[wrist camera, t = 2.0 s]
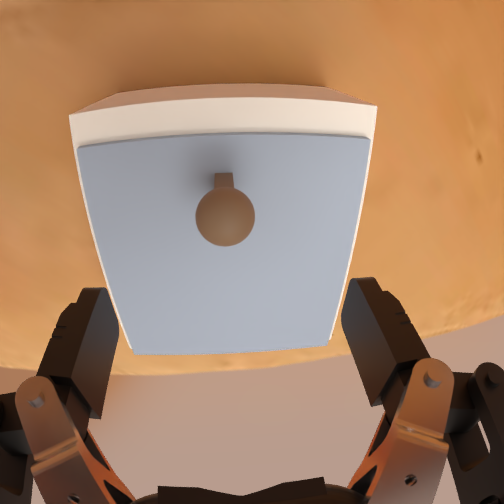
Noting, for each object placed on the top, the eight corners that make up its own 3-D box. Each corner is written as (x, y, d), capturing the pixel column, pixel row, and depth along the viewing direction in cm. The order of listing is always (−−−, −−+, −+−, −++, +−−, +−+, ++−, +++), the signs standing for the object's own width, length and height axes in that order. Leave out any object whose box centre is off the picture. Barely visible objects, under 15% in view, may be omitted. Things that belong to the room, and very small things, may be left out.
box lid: (80, 145, 16) (34, 183, 12) (366, 136, 18) (414, 171, 13) (135, 349, 26) (126, 403, 22) (325, 340, 28) (341, 392, 23)
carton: (117, 92, 23) (68, 115, 15) (326, 87, 25) (377, 106, 17) (146, 278, 35) (130, 348, 26) (306, 271, 36) (330, 339, 28)
